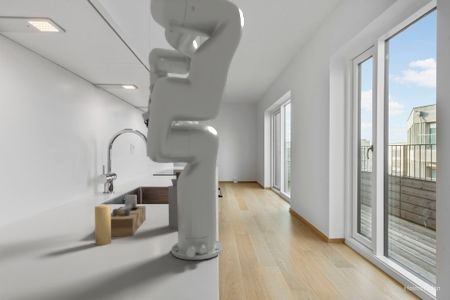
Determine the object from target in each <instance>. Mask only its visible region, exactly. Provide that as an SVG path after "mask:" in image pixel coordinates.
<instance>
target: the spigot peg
mask: <svg viewBox="0 0 450 300" xmlns="http://www.w3.org/2000/svg"><path fill="white" fill-rule="evenodd" d="M111 211H112V209H111V205H108V204H105V205H97V206H95V207H94V232H95V233H94V239H95V240H94V242H95V246H105V245H106V246H107V245H109V244H112V236H111V213H112V212H111Z"/></svg>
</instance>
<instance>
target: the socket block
mask: <svg viewBox="0 0 450 300" xmlns="http://www.w3.org/2000/svg"><path fill="white" fill-rule="evenodd" d="M122 207H123V206H120V207H118V208H114V209H112V212H111V237H123V236H124V237H125V236H127V237H128V236H134V235H135V233H136V232H137V231H138V229H139V228H140V227H141V226H142V225H143V223H144V222H145V221H146V219H147V218H146V214H147V213H146V211H147V209H146V208H147V207H146V205H137V207H136V208H132V209H131V210H130V208H126V209H125V214H120V209H121V208H122Z"/></svg>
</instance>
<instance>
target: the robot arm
mask: <svg viewBox="0 0 450 300" xmlns="http://www.w3.org/2000/svg"><path fill="white" fill-rule="evenodd" d="M149 4H150V7H149V8H150V15H151V18H152V19H153V20H154V22H155V23H157V24H158V25H159V26H161V27H162V28H164V37H165V40H166V42H167V44H168V45H169V46H170V47H172V48H173V49H171V48H170V49H169V48H162V47H154V48H152V49H151V51H150V52H149V54H148V64H149V65H148V66H149V86H148V89H149V95H148V101H147V111H145V112H143V113H142V114H141V117H142V119H143V124H145V127H146V129H147V133H146V154H147V155H148V158H149V159H150V161H152V162H154V163H159V164H171V163H173V164H174V163H175V164H176V163H178V164H179V163H183V164H185V163H186V164H185V166H184V167H183V168H182V170H181V171H180V172H181V173H180V175H179V177H178V181H177V205H178V228H177V242H176V243H175V244H173V245H172V247H171V254H172V255H173V257H176V258H179V259H182V260H185V261H186V260H188V261H200V260H207V259H211V258H215V257H217V256H219V255H220V254H222V252H223V250H224V247H223V244H222V242H220V241H218V240H217V198H216V197H217V195H216V192H217V191H216V190H217V189H216V187H217V185H216V184H217V183H216V179H217V178H216V174H217V171H216V170H217V159H218V153H219V147H220V138H219V134H218V132H217V131H216V129H215V128H213V127H212V126H211V125H209V124H208V125H207V124H204V123H203V124H202V123H188V122H212V121H213V120H216V118H217V117H218V116H219V114H220V112H221V111H220V110H221V106H222V103H223V99H224V94H225V89H226V86H227V85H226V84H227V79H228V74H229V70H230V67H231V64H232V60H233V58H234V57H235V54H236V52H237V49H238V48H239V45H240V42H241V39H242V36H243V32H244V31H243V30H244V17H243V12H242V10H241V9H240V7H239V6H238V5H237V4H236V3H234V2H232V1H230V0H150V3H149ZM198 37H204V38H207V39H205V40H204V41H203V42H202V43H201V44H200V45H197V42H196V40H197V38H198ZM172 74H176V75H182V76H183V75H187V74H188V75H187V76H186V77H178V76H172ZM178 122H179V123H178ZM180 122H183V123H180ZM184 122H185V123H184Z"/></svg>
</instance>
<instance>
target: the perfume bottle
mask: <svg viewBox="0 0 450 300" xmlns="http://www.w3.org/2000/svg"><path fill="white" fill-rule="evenodd" d="M181 172H182V171H176V172H175V178H171V179H170V180H171V182H172V184H171V185H169V186H168V189H167V190H168V194H167V195H168V197H167V198H168V227H169V228H173V229H178V205H177V181H178V177H179V175H180V173H181Z"/></svg>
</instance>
